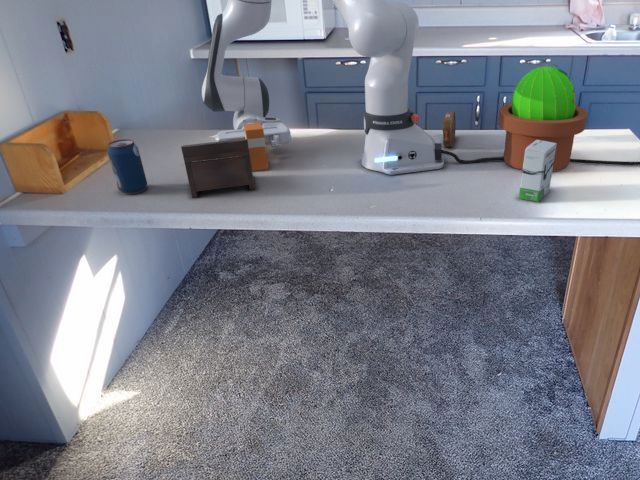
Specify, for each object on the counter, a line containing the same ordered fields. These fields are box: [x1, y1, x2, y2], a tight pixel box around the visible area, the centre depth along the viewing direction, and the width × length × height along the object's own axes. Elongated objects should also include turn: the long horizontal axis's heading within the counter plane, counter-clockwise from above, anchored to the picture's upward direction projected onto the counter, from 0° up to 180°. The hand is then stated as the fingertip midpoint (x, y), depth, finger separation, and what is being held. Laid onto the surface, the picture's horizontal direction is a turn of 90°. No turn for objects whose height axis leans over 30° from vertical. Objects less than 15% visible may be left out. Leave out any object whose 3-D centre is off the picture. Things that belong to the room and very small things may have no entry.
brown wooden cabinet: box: [180, 139, 256, 199], centre depth 134 cm, size 15×10×12 cm, turn 107°
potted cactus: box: [497, 63, 589, 172], centre depth 141 cm, size 22×22×25 cm
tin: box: [442, 110, 456, 148], centre depth 161 cm, size 15×3×8 cm, turn 168°
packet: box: [244, 123, 269, 172], centre depth 146 cm, size 4×6×11 cm
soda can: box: [106, 138, 148, 195], centre depth 133 cm, size 7×7×12 cm
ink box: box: [518, 140, 557, 203], centre depth 126 cm, size 9×5×12 cm, turn 148°
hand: (256, 146), depth 145 cm, fingers open, 8 cm apart
